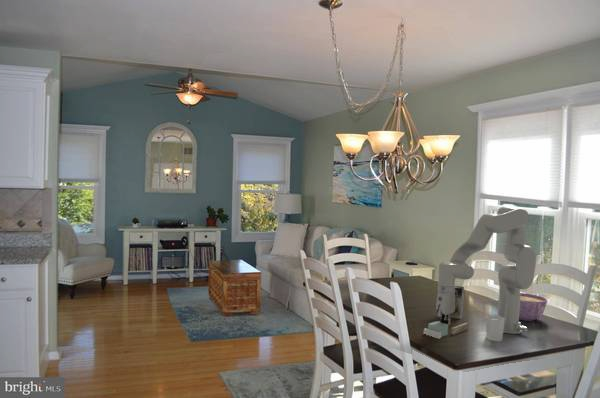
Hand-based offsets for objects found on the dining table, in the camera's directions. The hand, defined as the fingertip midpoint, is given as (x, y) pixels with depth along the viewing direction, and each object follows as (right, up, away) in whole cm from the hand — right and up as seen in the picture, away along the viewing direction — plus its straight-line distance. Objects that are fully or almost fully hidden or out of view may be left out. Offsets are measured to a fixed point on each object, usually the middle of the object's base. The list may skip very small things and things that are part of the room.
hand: (444, 327), depth 235 cm
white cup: (+21, -4, -8) cm, 22 cm away
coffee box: (+13, -2, +28) cm, 31 cm away
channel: (+5, -2, +5) cm, 7 cm away
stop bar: (-7, -2, -7) cm, 11 cm away
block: (-4, -2, -4) cm, 6 cm away
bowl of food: (+51, -3, +30) cm, 59 cm away
